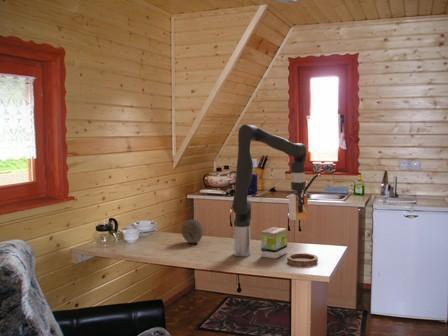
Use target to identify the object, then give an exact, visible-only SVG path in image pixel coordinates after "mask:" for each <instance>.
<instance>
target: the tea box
mask: <svg viewBox="0 0 448 336" xmlns="http://www.w3.org/2000/svg"><path fill="white" fill-rule="evenodd" d="M260 235H261V237H260V241H261V242H260V249H261V250H260V257H262V258H267V259H268V258H270V259H276V260H277V258H279V257H281V256H283V255H285V254H286V255H287V253H288V228H285V227H284V228H283V227H276V226H275V227H274V226H272V227H270V228H267V229H264V230H262V231H261V234H260Z"/></svg>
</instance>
